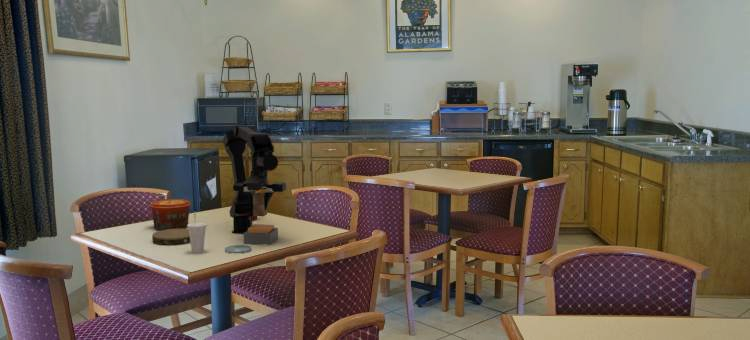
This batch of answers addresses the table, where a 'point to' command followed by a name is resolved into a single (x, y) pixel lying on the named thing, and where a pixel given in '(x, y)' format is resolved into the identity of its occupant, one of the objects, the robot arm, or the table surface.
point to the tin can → (171, 237)
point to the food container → (170, 214)
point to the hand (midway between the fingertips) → (260, 209)
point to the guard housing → (261, 237)
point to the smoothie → (197, 235)
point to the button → (260, 228)
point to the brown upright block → (259, 204)
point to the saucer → (238, 249)
